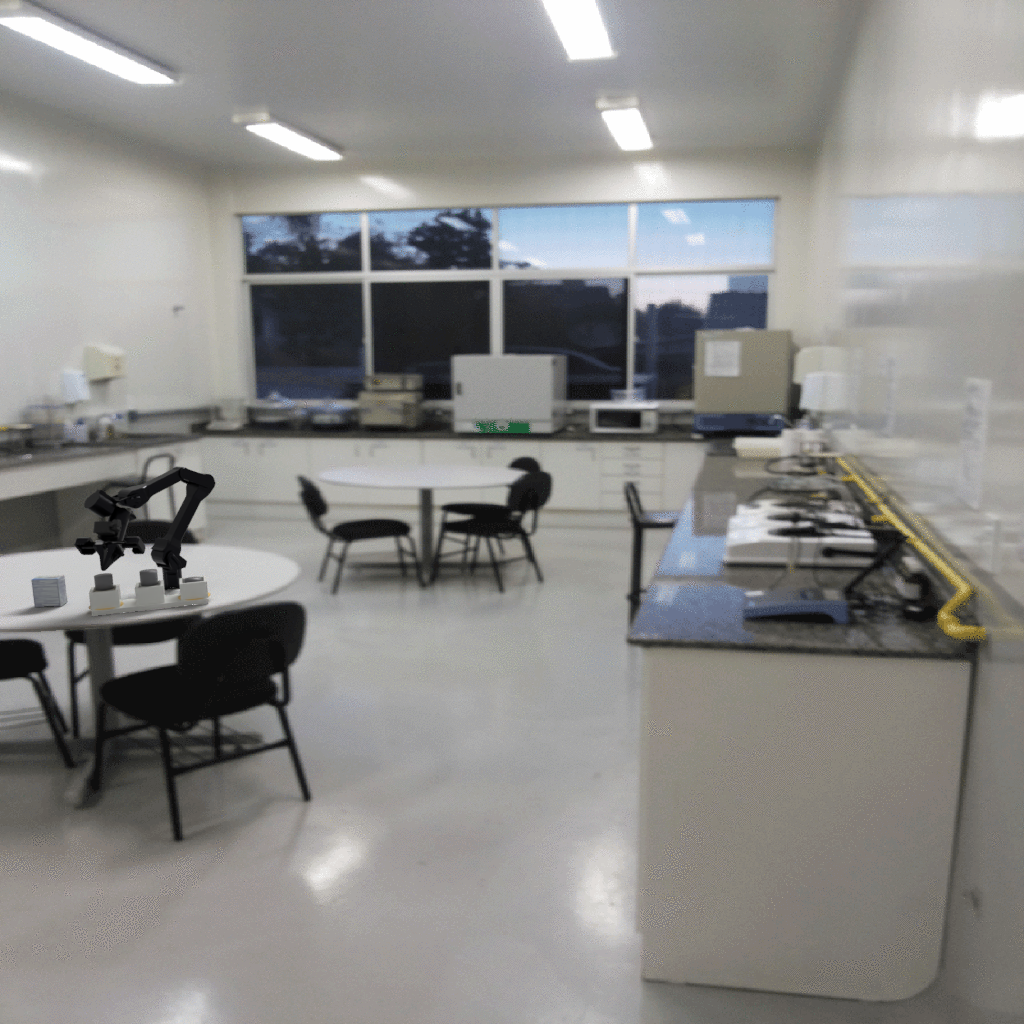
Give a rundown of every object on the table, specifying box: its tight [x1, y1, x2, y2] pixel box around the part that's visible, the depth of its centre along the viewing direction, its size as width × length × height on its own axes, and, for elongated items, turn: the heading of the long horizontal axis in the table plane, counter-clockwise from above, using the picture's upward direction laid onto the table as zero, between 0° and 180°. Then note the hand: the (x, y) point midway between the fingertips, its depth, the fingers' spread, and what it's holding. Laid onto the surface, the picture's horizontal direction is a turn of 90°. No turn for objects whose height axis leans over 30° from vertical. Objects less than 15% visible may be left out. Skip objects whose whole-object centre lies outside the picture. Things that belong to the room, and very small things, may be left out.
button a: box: [184, 576, 202, 583], centre depth 263 cm, size 5×5×4 cm
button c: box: [93, 572, 114, 591], centre depth 254 cm, size 5×5×4 cm
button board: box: [88, 575, 211, 617], centre depth 259 cm, size 10×33×6 cm, turn 111°
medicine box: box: [30, 574, 69, 608], centre depth 262 cm, size 8×4×9 cm, turn 92°
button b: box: [138, 568, 159, 586], centre depth 258 cm, size 5×5×4 cm
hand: (102, 570), depth 254 cm, fingers closed
